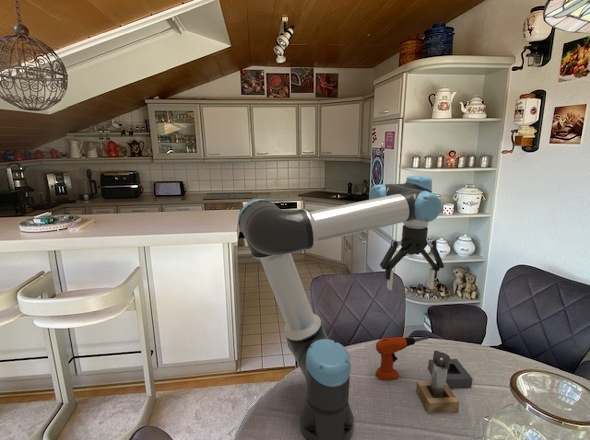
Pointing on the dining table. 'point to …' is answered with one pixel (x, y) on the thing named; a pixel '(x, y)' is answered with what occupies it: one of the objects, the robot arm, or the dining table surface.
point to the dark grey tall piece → (439, 374)
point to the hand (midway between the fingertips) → (409, 288)
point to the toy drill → (392, 355)
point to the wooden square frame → (437, 399)
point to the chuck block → (455, 375)
